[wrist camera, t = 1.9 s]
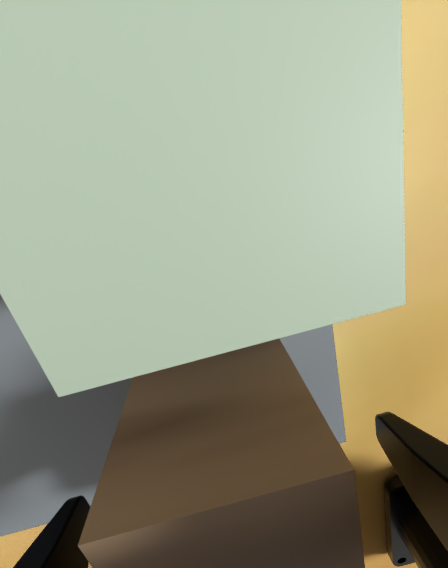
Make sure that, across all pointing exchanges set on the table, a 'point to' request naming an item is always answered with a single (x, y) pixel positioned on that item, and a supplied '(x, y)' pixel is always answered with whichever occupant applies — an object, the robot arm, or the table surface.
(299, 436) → the walnut block
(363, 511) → the table surface
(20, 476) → the baseplate
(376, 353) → the table surface
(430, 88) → the table surface
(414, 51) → the table surface
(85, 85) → the sage block
